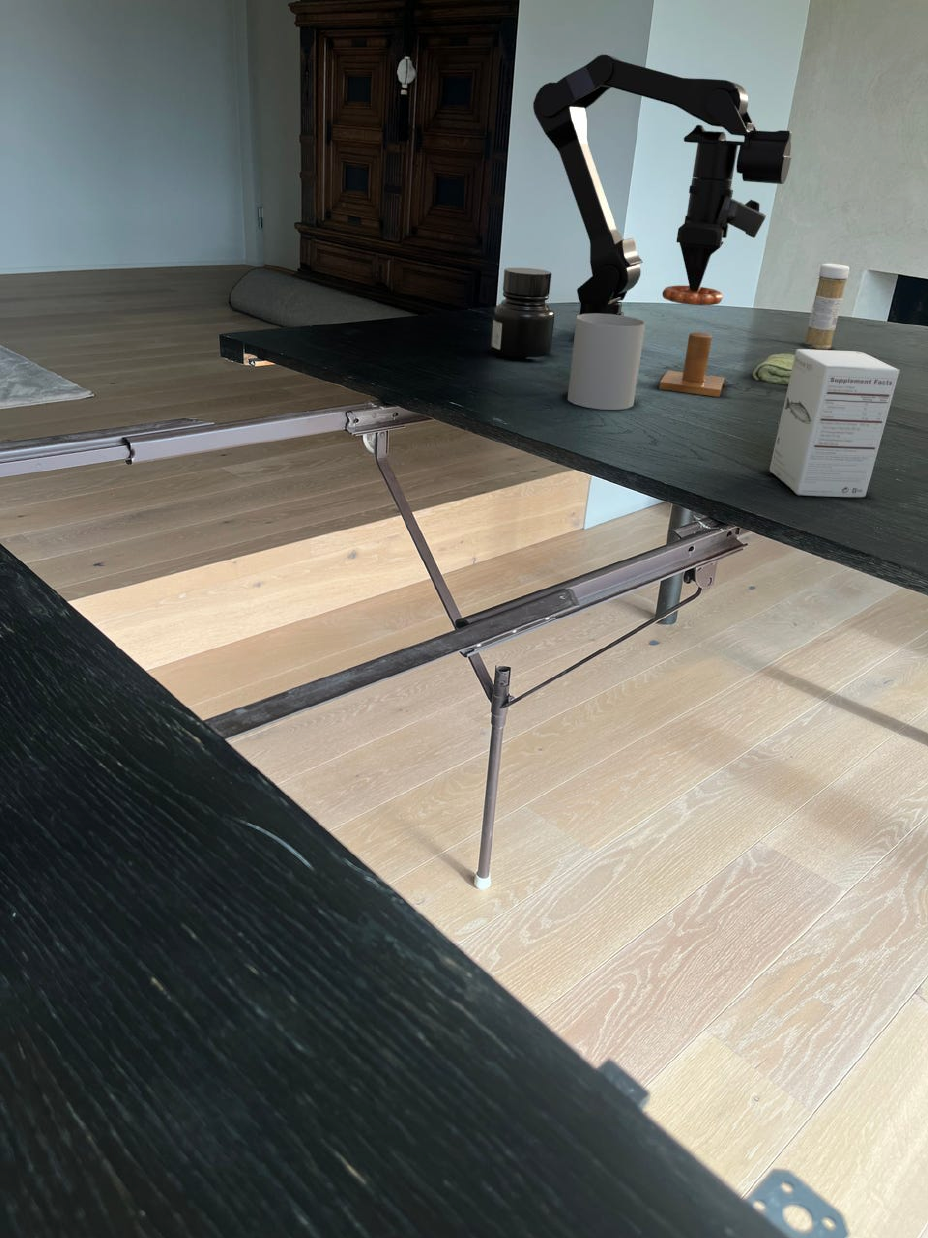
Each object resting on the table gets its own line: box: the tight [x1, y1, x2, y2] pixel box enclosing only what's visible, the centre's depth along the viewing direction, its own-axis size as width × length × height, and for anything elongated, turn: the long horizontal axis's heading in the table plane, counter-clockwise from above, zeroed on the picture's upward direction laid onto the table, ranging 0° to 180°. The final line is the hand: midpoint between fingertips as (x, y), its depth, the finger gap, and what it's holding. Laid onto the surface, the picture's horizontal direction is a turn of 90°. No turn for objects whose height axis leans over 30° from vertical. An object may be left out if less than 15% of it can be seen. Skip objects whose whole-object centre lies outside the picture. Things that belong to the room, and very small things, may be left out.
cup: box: [567, 313, 646, 411], centre depth 119 cm, size 8×8×10 cm
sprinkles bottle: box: [803, 263, 850, 350], centre depth 161 cm, size 5×5×14 cm
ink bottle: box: [490, 267, 555, 362], centre depth 140 cm, size 10×9×12 cm
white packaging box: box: [769, 348, 900, 498], centre depth 93 cm, size 7×7×13 cm
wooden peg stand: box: [658, 332, 726, 398], centre depth 130 cm, size 8×8×7 cm
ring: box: [661, 285, 724, 306], centre depth 144 cm, size 9×9×2 cm
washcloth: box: [752, 352, 795, 386], centre depth 136 cm, size 13×18×3 cm
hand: (694, 290), depth 147 cm, fingers closed on ring, 1 cm apart
